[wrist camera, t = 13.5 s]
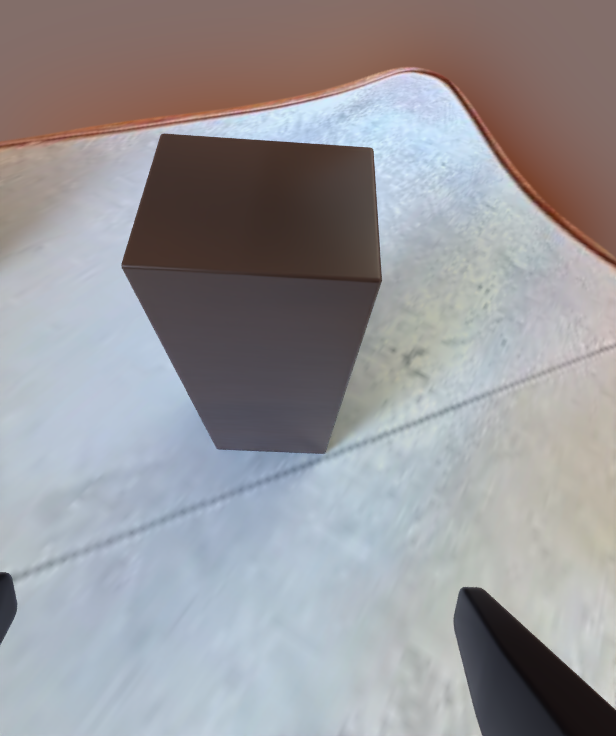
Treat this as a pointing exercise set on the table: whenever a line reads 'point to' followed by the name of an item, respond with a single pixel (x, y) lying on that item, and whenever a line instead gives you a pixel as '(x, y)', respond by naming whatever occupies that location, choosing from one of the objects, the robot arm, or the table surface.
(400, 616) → the table surface
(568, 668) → the robot arm
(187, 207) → the walnut block
